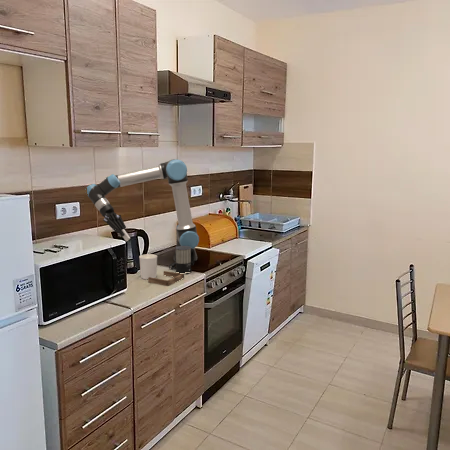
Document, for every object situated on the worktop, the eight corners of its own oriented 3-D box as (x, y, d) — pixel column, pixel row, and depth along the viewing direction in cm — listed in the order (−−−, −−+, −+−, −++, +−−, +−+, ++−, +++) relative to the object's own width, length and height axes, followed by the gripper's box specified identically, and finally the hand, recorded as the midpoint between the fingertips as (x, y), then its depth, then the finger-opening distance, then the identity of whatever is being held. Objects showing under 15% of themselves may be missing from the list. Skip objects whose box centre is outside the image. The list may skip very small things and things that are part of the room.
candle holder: (139, 275, 242) (139, 254, 240) (157, 274, 244) (156, 253, 242) (139, 280, 233) (139, 258, 231) (158, 279, 235) (157, 258, 233)
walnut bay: (164, 275, 243) (164, 271, 242) (184, 278, 237) (184, 274, 237) (148, 282, 229) (148, 277, 229) (168, 285, 223) (168, 281, 223)
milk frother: (188, 275, 244) (188, 249, 241) (162, 272, 248) (162, 247, 246) (196, 268, 257) (196, 244, 255) (171, 266, 261) (171, 242, 259)
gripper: (109, 210, 253) (132, 242, 248) (93, 213, 241) (116, 245, 236) (116, 202, 249) (139, 233, 245) (100, 204, 238) (124, 237, 233)
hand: (128, 239), depth 241 cm, fingers closed
